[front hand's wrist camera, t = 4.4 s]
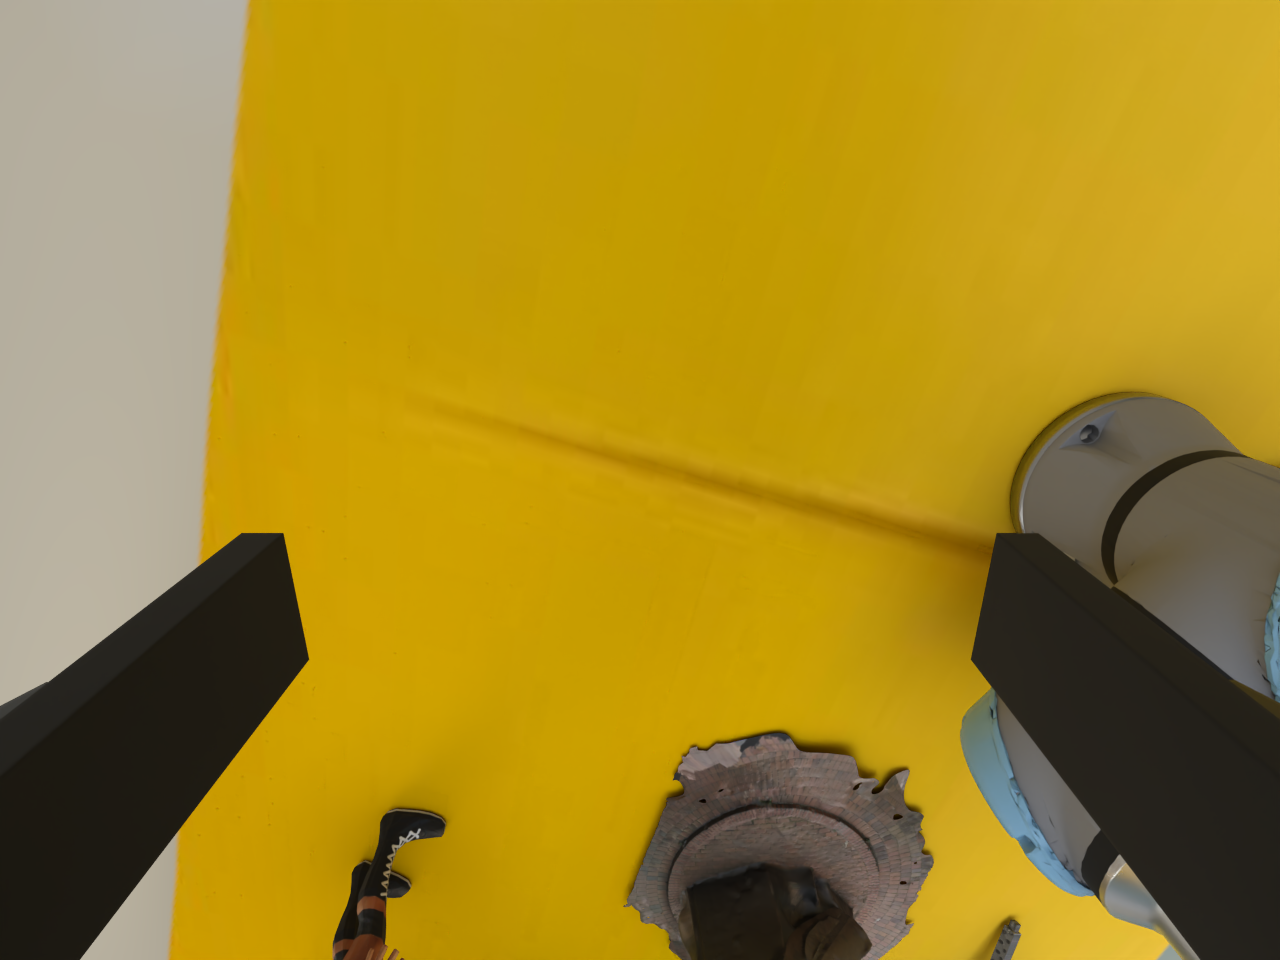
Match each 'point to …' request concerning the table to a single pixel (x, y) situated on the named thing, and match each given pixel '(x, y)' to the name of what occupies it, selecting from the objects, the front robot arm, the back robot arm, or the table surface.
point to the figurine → (380, 886)
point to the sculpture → (781, 857)
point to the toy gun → (1007, 942)
